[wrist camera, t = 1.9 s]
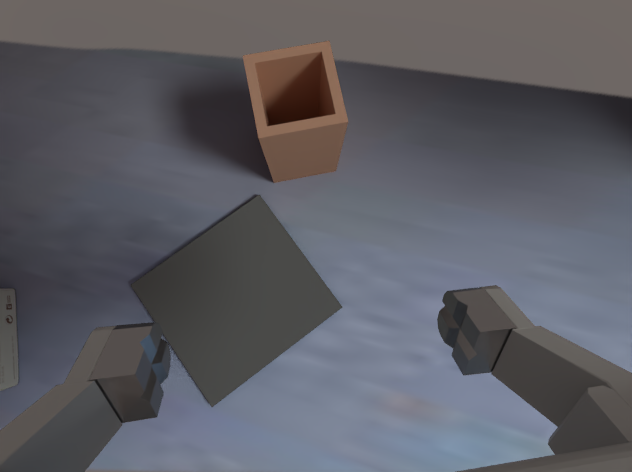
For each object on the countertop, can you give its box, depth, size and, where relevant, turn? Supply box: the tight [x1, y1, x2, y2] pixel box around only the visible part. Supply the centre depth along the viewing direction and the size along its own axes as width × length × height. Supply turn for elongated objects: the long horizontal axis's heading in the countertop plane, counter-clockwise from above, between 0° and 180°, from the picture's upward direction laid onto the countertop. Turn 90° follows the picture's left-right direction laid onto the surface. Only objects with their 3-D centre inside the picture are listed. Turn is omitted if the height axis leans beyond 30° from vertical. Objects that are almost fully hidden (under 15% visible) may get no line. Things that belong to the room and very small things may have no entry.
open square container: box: [243, 41, 348, 183], centre depth 23 cm, size 5×5×8 cm
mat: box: [131, 195, 342, 407], centre depth 26 cm, size 12×11×1 cm
